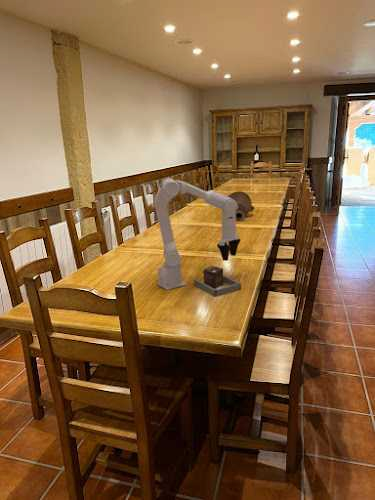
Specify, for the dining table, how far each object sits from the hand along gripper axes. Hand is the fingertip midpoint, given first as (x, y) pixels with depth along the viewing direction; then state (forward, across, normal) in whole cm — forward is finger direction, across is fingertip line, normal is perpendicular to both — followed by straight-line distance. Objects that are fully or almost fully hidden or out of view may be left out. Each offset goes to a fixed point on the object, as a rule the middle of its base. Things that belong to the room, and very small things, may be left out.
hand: (229, 257), depth 160 cm
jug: (+10, +122, +50) cm, 132 cm away
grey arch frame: (+10, -11, +1) cm, 14 cm away
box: (+10, -10, +3) cm, 14 cm away
